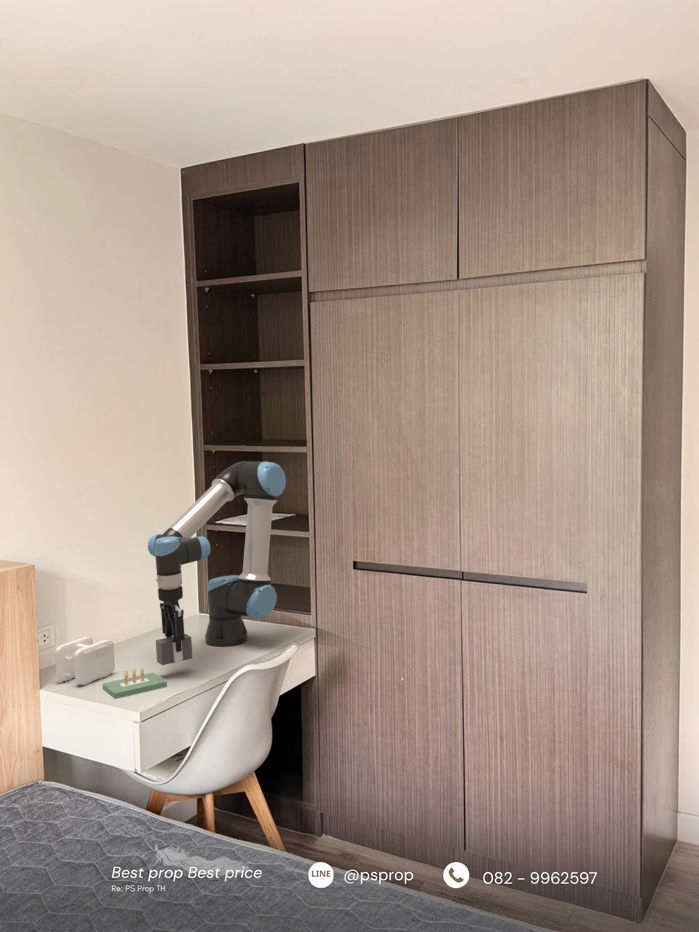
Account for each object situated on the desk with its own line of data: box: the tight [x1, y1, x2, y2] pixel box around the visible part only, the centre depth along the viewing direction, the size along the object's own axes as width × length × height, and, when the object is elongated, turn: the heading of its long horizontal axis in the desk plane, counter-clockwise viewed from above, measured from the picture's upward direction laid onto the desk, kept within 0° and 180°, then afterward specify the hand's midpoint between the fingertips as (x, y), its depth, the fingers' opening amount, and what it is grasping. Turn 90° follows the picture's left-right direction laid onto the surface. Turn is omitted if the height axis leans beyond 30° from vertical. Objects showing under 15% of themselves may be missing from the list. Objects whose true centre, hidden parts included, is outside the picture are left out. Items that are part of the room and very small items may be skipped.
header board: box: [102, 667, 168, 699], centre depth 255 cm, size 16×11×6 cm
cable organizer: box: [54, 636, 116, 686], centre depth 265 cm, size 15×11×12 cm
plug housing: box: [155, 633, 193, 666], centre depth 266 cm, size 10×4×7 cm, turn 124°
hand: (175, 658), depth 266 cm, fingers closed on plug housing, 4 cm apart
